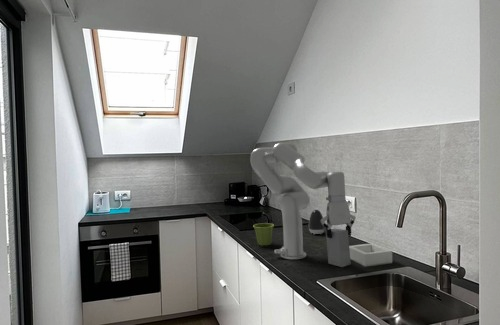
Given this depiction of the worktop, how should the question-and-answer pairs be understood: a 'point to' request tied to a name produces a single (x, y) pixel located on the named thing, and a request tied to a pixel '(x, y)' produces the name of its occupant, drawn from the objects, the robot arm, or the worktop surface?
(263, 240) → the plant pot
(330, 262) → the skincare box
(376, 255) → the box
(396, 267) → the worktop surface
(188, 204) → the worktop surface
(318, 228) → the black rounded dome
